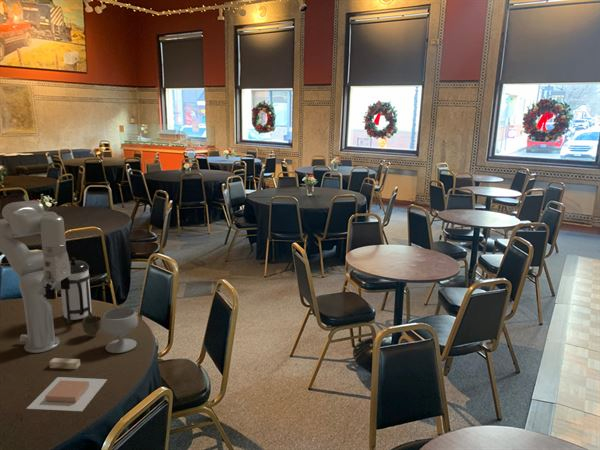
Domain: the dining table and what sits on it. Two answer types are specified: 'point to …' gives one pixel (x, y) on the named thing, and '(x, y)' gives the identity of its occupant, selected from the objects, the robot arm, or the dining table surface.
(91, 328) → the cup
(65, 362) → the turner
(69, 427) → the dining table surface
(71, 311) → the coffee press
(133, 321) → the chalice
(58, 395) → the tile
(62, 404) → the tile board
